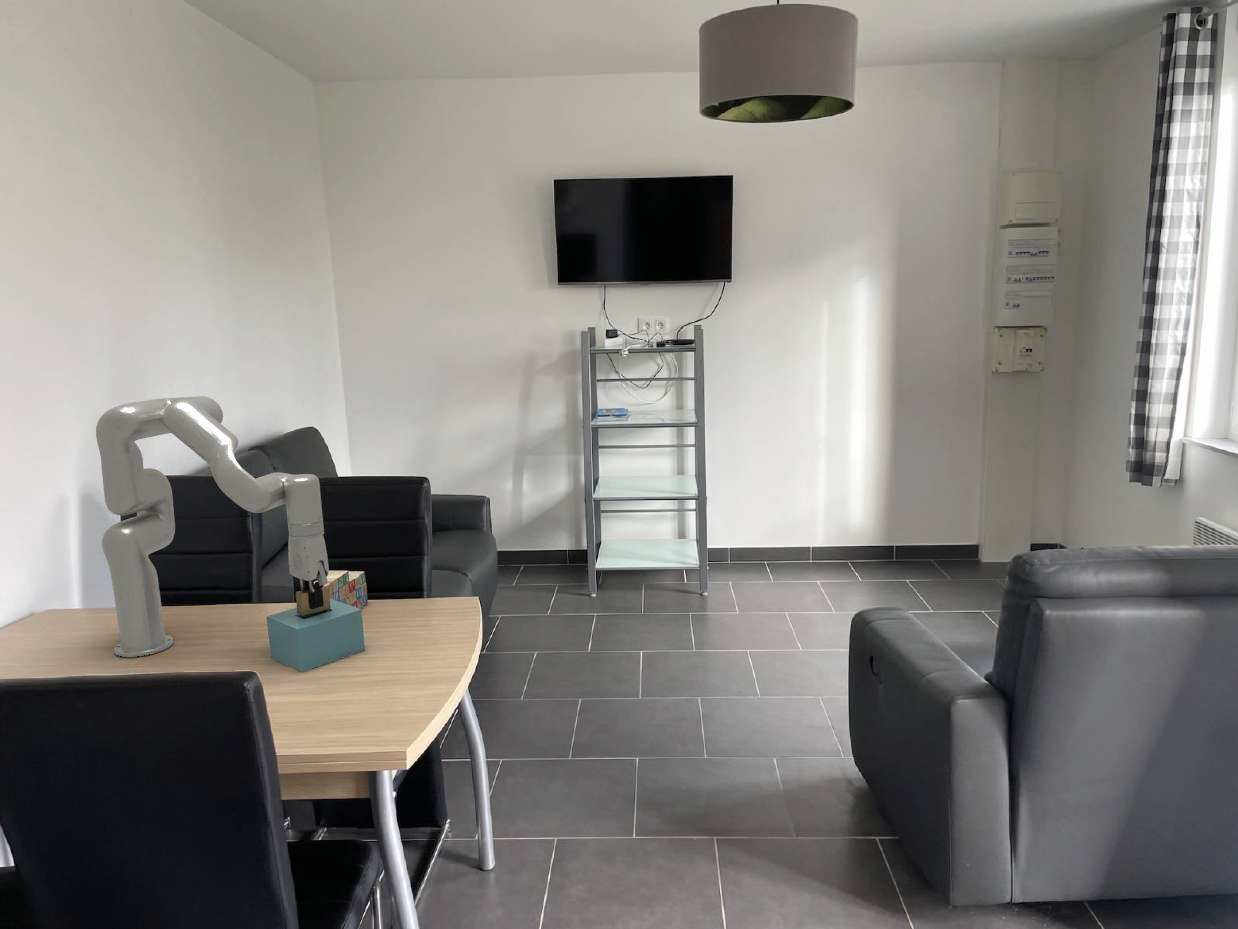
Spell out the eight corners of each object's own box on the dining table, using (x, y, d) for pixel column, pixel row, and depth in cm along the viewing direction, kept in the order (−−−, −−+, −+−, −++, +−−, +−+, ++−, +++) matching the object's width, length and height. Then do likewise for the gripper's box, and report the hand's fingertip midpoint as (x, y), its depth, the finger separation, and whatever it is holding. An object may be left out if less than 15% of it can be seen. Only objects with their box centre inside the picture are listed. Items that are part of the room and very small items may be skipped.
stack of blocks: (347, 603, 243) (343, 560, 241) (368, 604, 242) (364, 560, 240) (307, 631, 222) (302, 584, 220) (330, 632, 221) (326, 585, 219)
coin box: (270, 657, 206) (266, 616, 204) (332, 637, 217) (329, 598, 216) (302, 672, 196) (297, 629, 195) (364, 650, 208) (361, 609, 207)
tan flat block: (324, 606, 208) (297, 613, 203) (323, 585, 208) (295, 592, 203) (330, 608, 207) (302, 615, 202) (329, 587, 206) (301, 594, 201)
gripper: (273, 527, 204) (281, 604, 207) (309, 537, 194) (317, 618, 197) (303, 520, 210) (310, 595, 213) (340, 530, 199) (347, 608, 202)
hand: (313, 605), depth 205 cm, fingers closed on tan flat block, 2 cm apart
